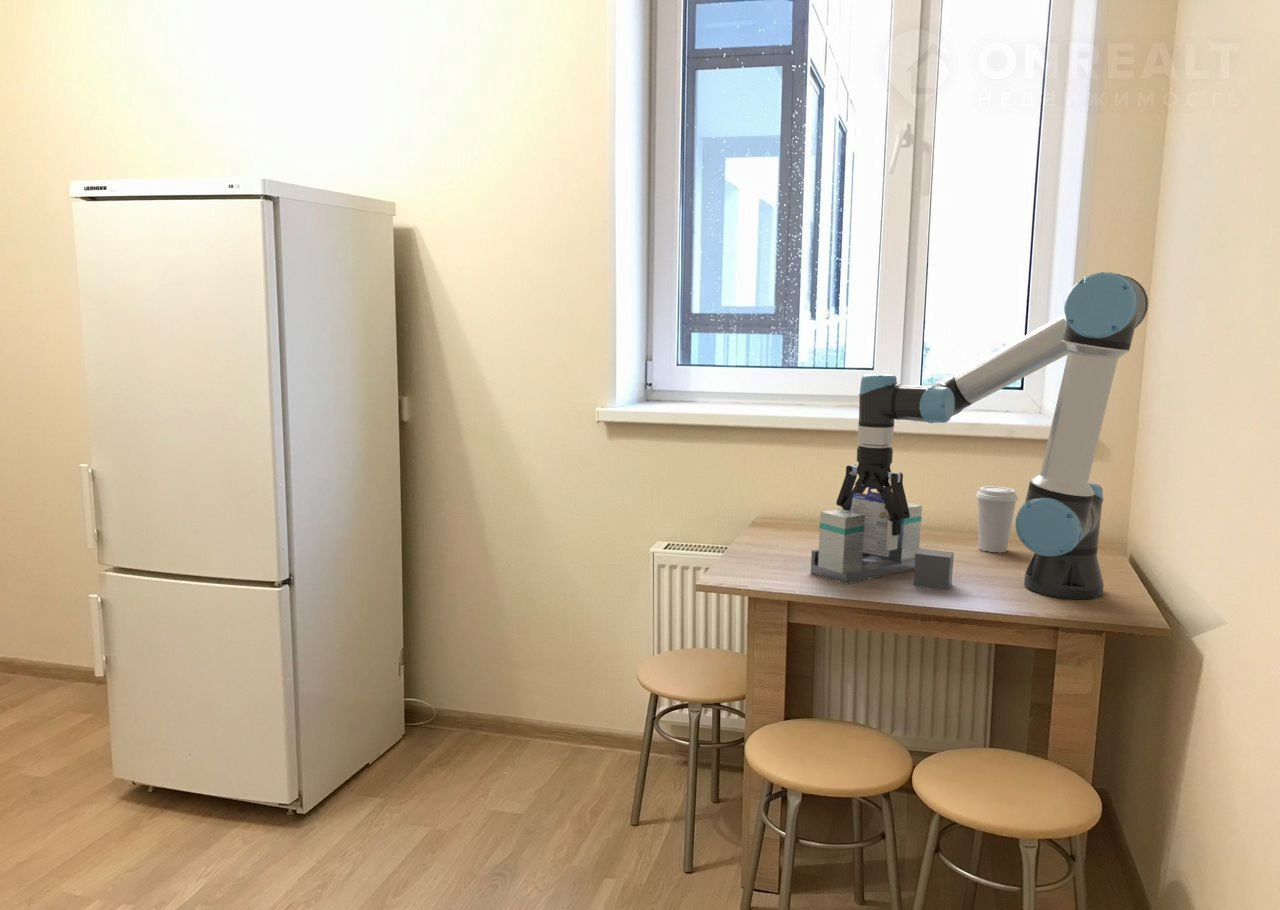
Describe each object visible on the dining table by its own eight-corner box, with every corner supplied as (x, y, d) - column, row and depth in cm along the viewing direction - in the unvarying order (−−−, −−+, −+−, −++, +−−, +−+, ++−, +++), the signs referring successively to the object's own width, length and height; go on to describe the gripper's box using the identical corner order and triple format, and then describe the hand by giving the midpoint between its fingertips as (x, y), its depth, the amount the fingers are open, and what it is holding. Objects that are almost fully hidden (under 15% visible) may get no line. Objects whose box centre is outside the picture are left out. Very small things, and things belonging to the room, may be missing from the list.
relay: (947, 590, 196) (950, 557, 195) (913, 585, 199) (915, 553, 198) (951, 584, 201) (953, 552, 200) (917, 580, 204) (919, 548, 203)
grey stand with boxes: (921, 567, 214) (925, 506, 212) (845, 584, 199) (849, 518, 197) (886, 557, 222) (889, 498, 219) (810, 572, 207) (813, 510, 205)
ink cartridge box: (889, 550, 211) (900, 488, 208) (889, 558, 206) (901, 495, 202) (844, 542, 213) (854, 480, 210) (843, 550, 208) (854, 487, 204)
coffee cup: (984, 555, 226) (989, 493, 223) (964, 545, 235) (969, 485, 233) (1021, 554, 227) (1026, 492, 225) (1000, 544, 236) (1005, 485, 234)
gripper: (931, 450, 199) (925, 552, 202) (845, 438, 217) (841, 531, 221) (908, 453, 194) (902, 557, 197) (822, 440, 213) (818, 535, 216)
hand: (870, 544), depth 209 cm, fingers closed on ink cartridge box, 11 cm apart
